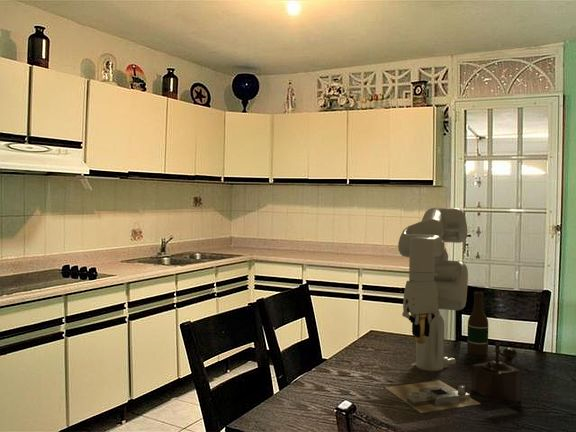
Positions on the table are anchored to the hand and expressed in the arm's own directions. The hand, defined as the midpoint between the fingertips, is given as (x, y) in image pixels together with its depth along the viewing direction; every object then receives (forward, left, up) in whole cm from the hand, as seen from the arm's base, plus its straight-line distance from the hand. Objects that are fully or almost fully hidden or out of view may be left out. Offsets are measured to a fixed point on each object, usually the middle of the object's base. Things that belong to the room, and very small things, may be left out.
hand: (420, 335), depth 160 cm
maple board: (0, +6, -18) cm, 19 cm away
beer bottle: (-45, -29, -18) cm, 57 cm away
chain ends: (0, +10, -17) cm, 19 cm away
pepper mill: (-20, +13, -18) cm, 30 cm away
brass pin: (0, 0, -2) cm, 2 cm away
